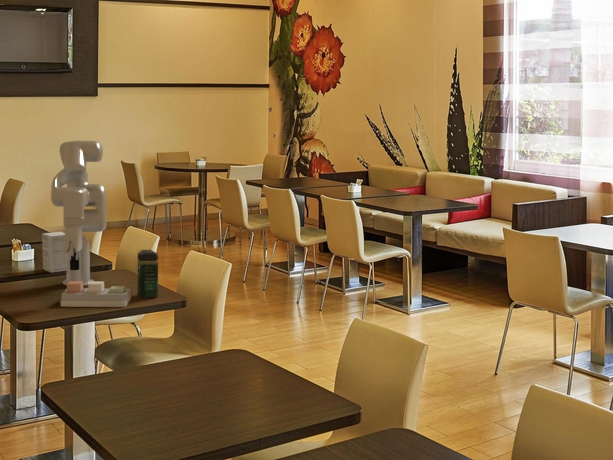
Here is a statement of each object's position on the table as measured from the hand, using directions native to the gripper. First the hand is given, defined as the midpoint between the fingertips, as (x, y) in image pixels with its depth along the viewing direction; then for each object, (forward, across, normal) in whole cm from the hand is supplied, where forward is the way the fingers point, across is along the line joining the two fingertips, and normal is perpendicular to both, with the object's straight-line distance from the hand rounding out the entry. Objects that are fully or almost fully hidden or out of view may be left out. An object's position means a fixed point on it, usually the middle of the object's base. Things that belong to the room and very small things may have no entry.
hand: (74, 269), depth 313 cm
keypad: (+13, -1, +8) cm, 15 cm away
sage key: (+10, -1, +16) cm, 19 cm away
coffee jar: (+13, -13, +26) cm, 32 cm away
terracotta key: (+9, -1, 0) cm, 9 cm away
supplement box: (+12, -64, -22) cm, 68 cm away
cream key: (+9, -1, +8) cm, 12 cm away
